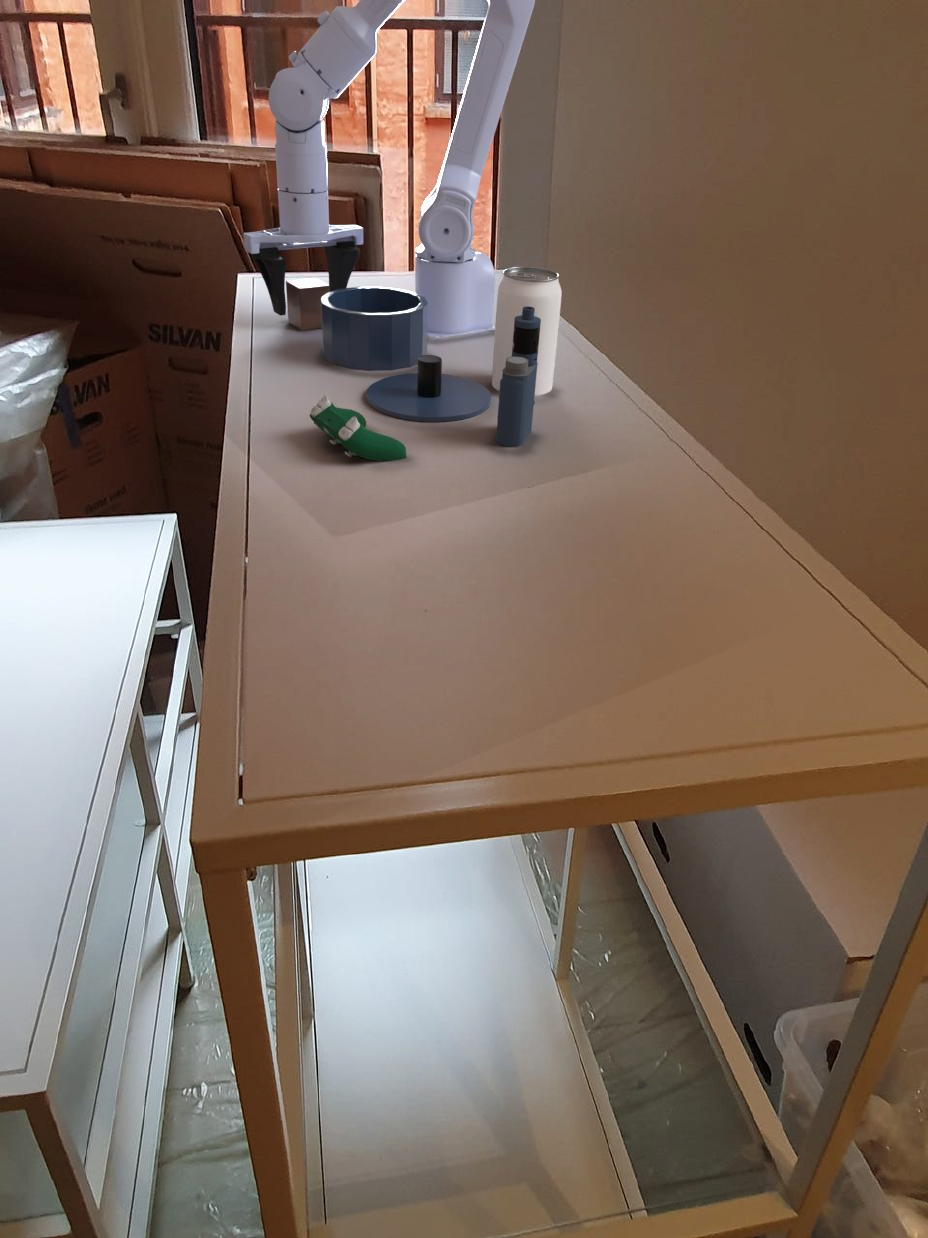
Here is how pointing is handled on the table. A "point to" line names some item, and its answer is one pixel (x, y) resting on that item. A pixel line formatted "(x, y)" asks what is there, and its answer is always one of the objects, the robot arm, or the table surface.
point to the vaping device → (519, 382)
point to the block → (305, 302)
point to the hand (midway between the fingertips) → (308, 309)
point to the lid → (428, 394)
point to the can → (545, 297)
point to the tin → (374, 328)
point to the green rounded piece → (355, 433)
